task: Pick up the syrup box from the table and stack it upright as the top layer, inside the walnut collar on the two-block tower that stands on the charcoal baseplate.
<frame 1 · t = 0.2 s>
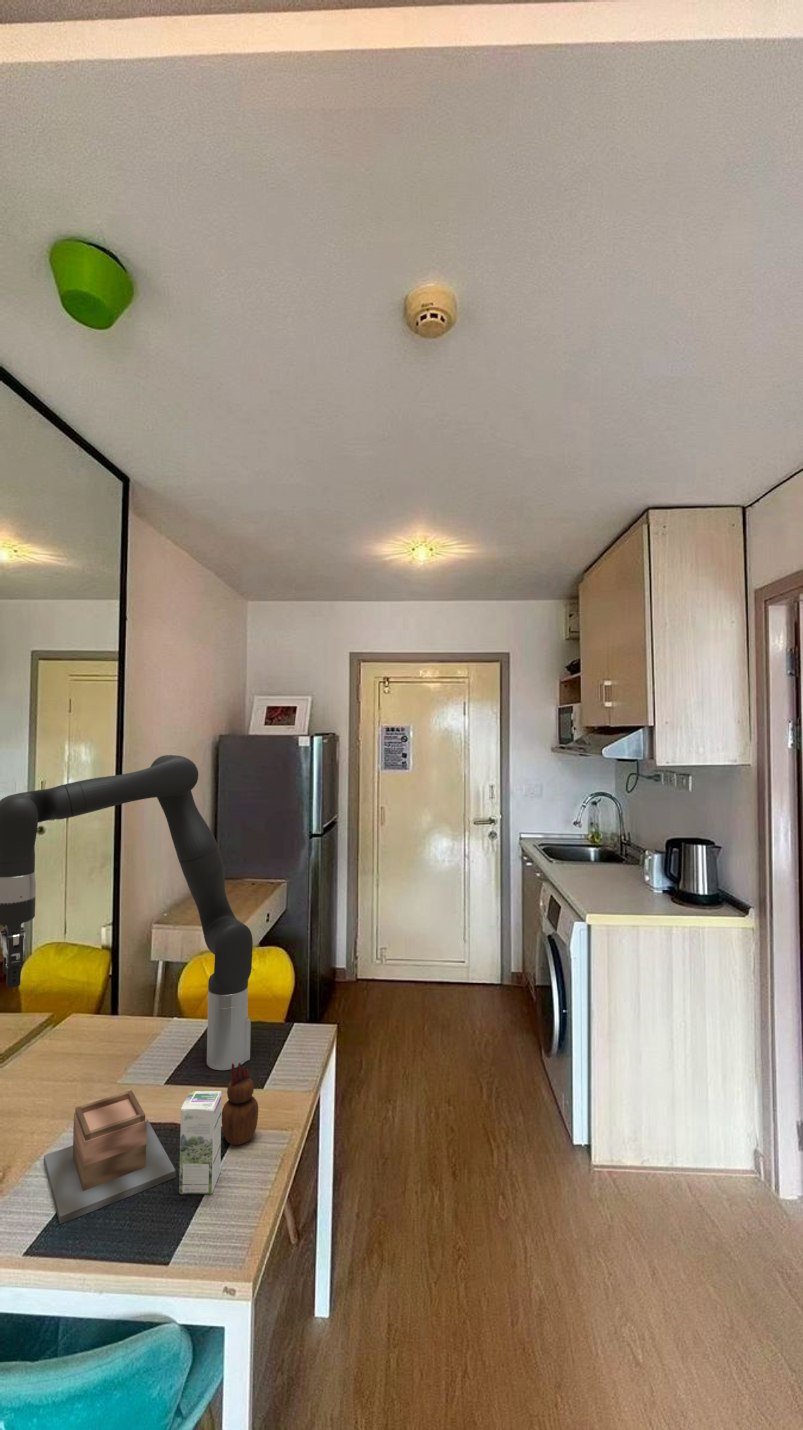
hand: (11, 979, 123), 29 cm above the table, tool pointing down, fingers open, 8 cm apart
tower base: (108, 1169, 111), on the table
wooden figurine: (239, 1140, 120), on the table
syrup box: (200, 1185, 108), on the table
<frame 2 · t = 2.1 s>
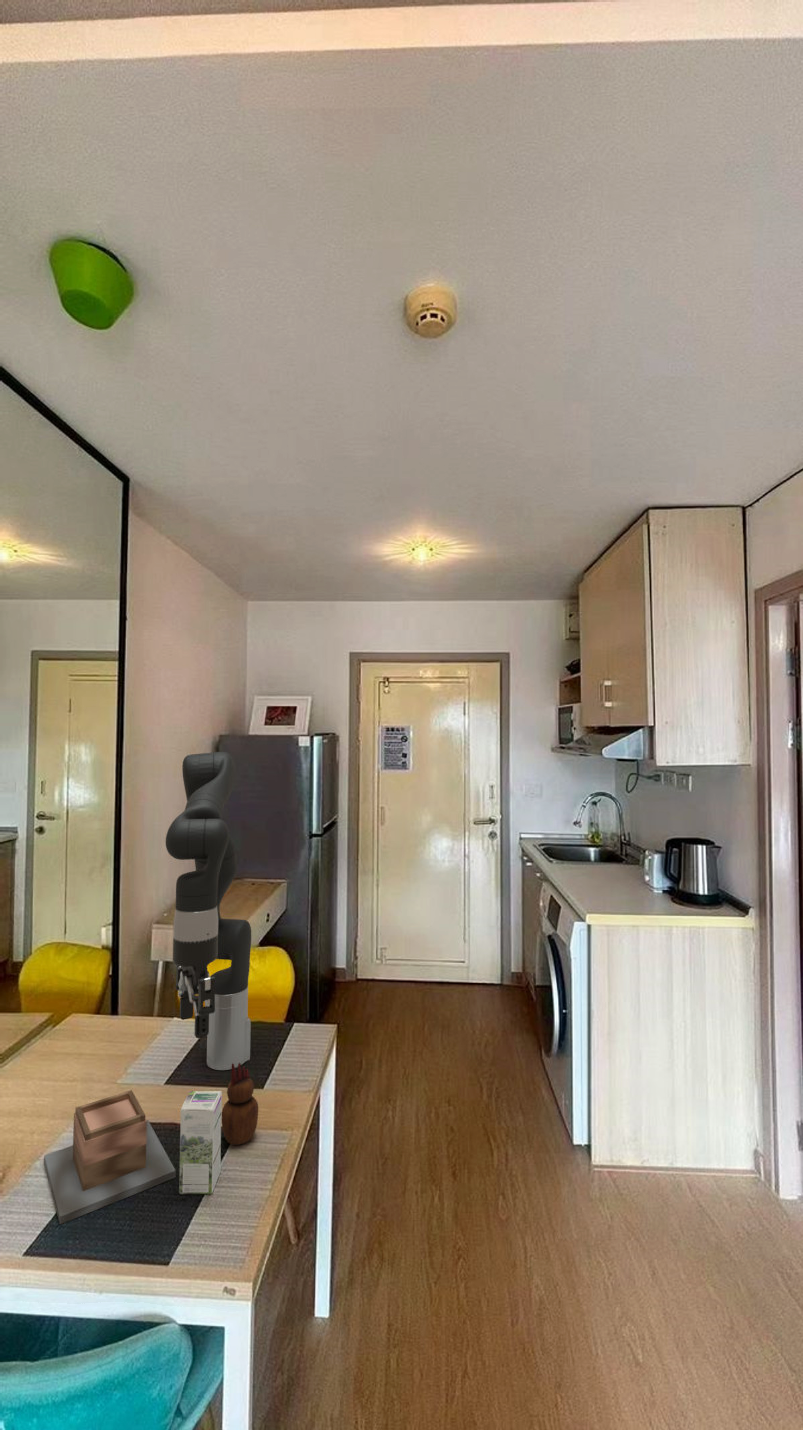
hand: (193, 1027, 109), 27 cm above the table, tool pointing down, fingers open, 8 cm apart
nothing on the table moved.
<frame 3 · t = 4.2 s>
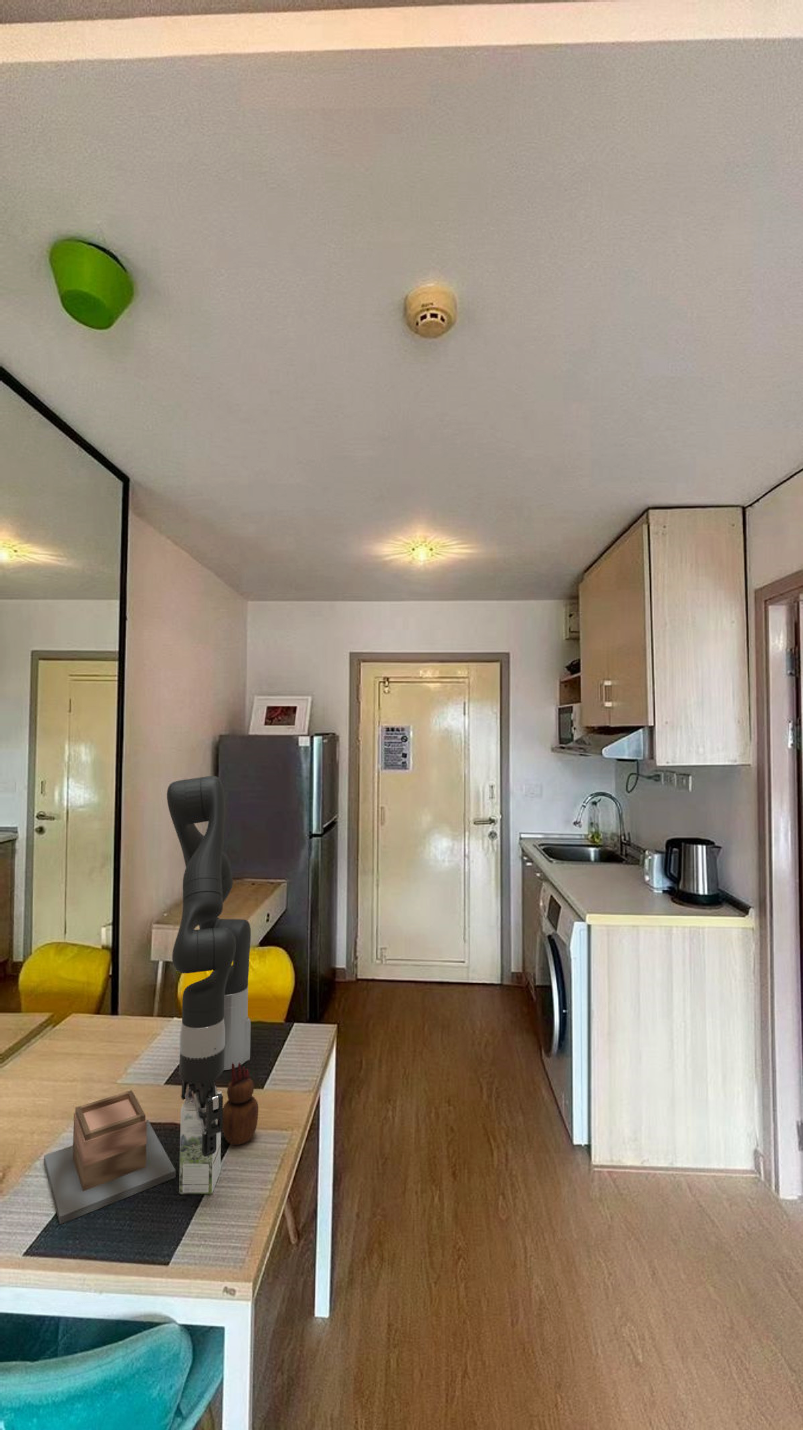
hand: (200, 1141, 108), 7 cm above the table, tool pointing down, fingers closed on syrup box, 8 cm apart
syrup box: (200, 1185, 108), on the table, touching gripper
everything else where it was.
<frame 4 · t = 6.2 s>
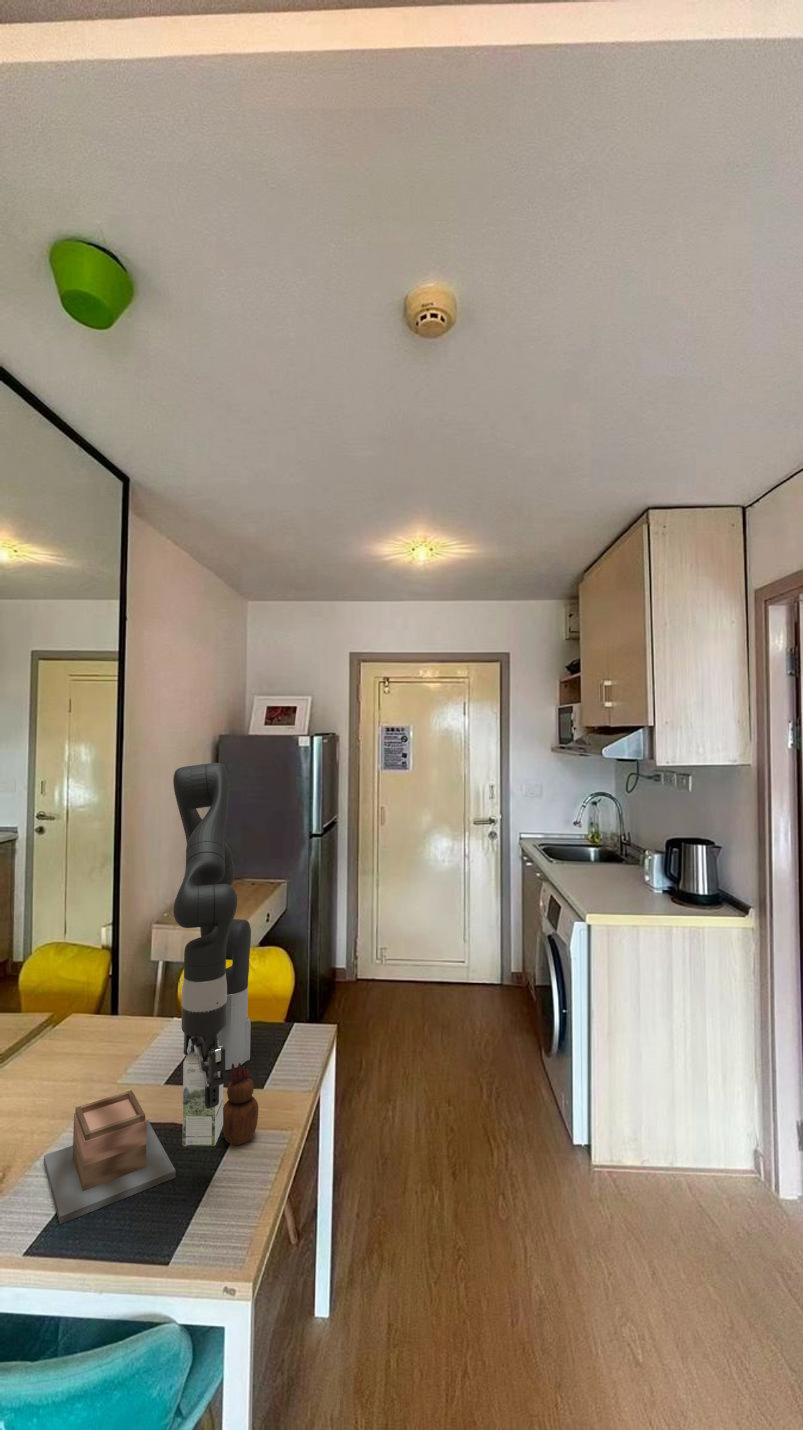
hand: (203, 1094, 109), 15 cm above the table, tool pointing down, fingers closed on syrup box, 8 cm apart
syrup box: (203, 1138, 109), point 7 cm above the table, touching gripper
everything else where it was.
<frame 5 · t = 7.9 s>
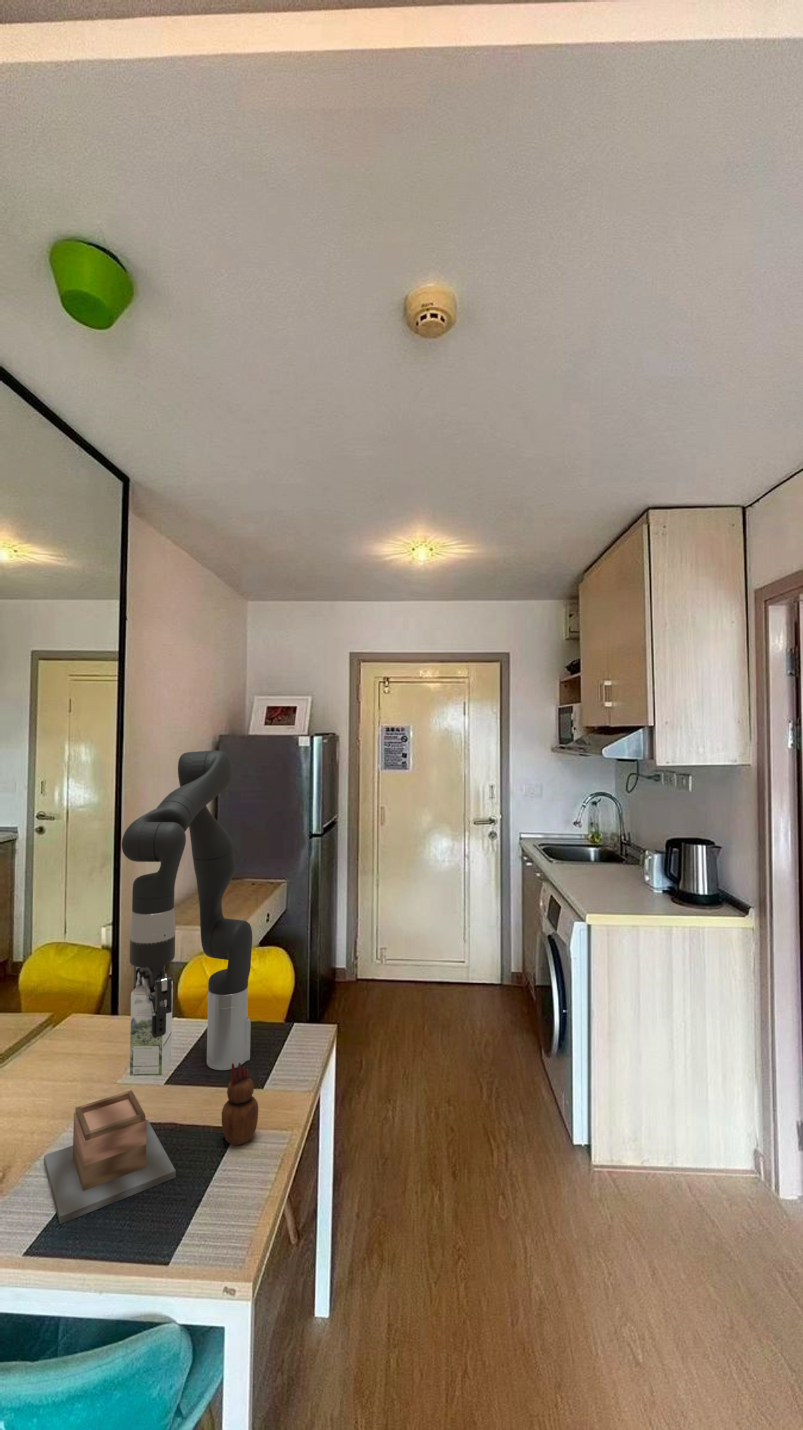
hand: (151, 1026, 111), 26 cm above the table, tool pointing down, fingers closed on syrup box, 8 cm apart
syrup box: (151, 1069, 111), point 18 cm above the table, touching gripper
everything else where it was.
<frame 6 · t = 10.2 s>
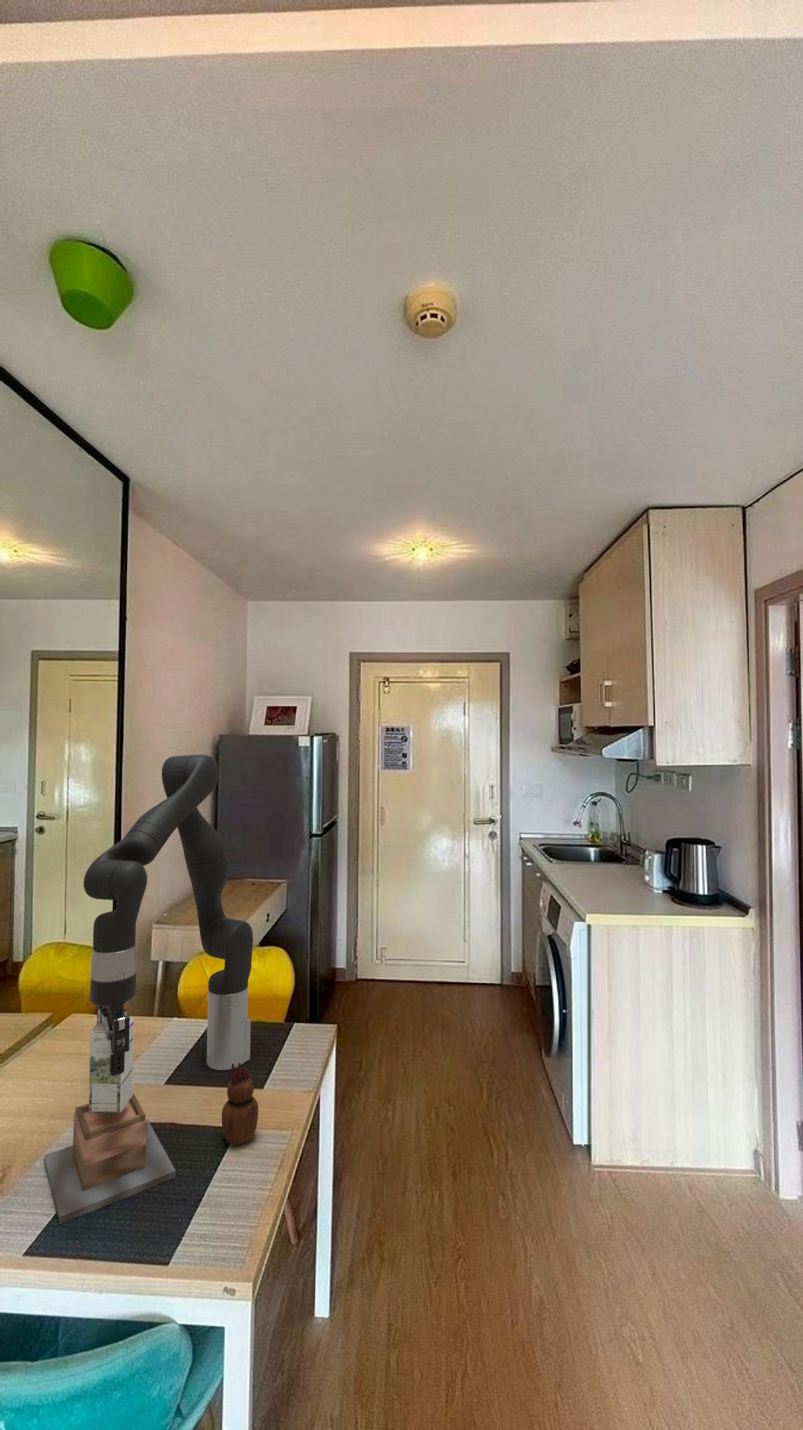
hand: (111, 1063, 112), 19 cm above the table, tool pointing down, fingers closed on syrup box, 8 cm apart
syrup box: (111, 1106, 112), point 11 cm above the table, touching gripper
everything else where it was.
when the fingers open (18 cm above the table, at t = 11.6 s): syrup box drops 2 cm, resting on tower base.
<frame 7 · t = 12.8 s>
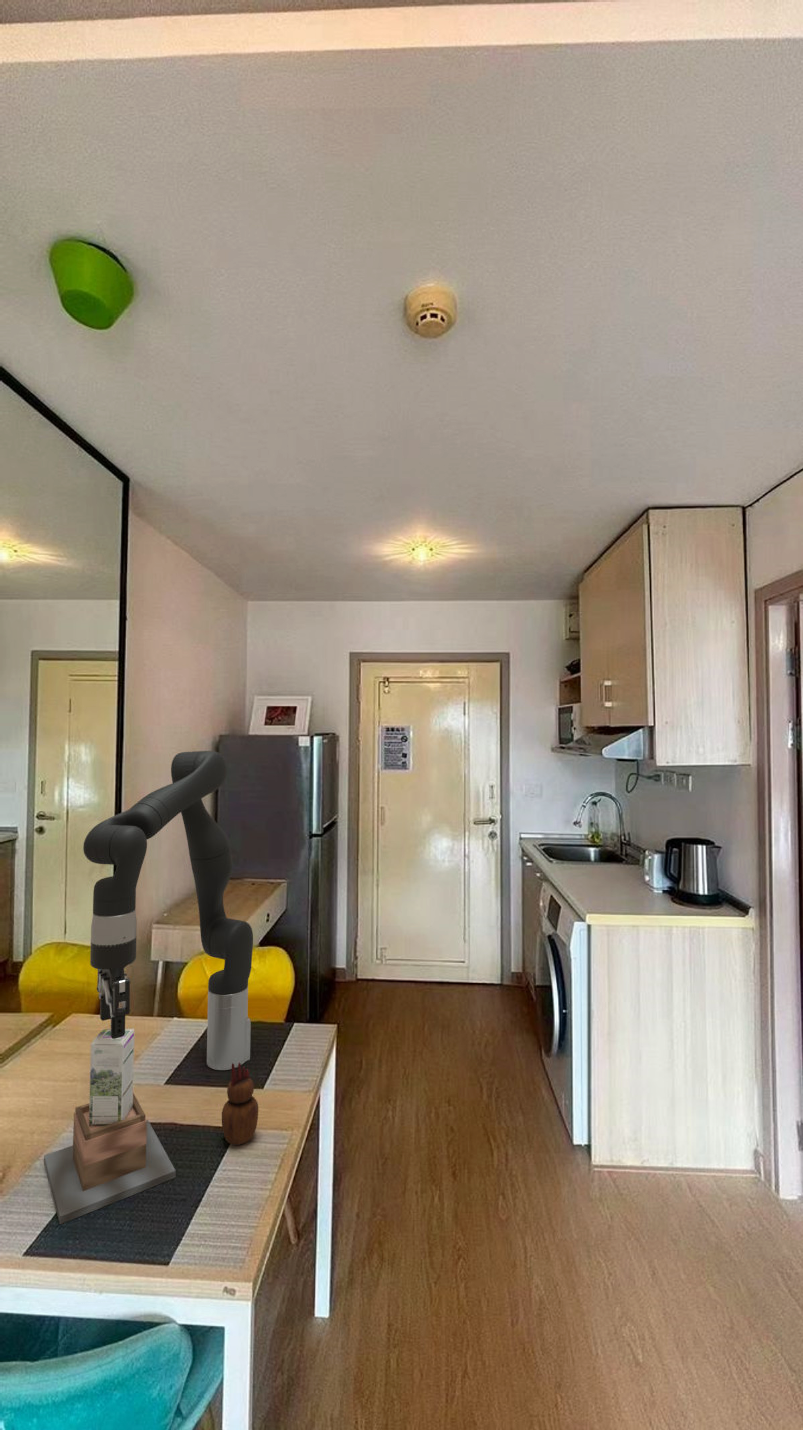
hand: (112, 1027, 112), 25 cm above the table, tool pointing down, fingers open, 8 cm apart
syrup box: (111, 1118, 112), point 9 cm above the table, touching tower base
everything else where it was.
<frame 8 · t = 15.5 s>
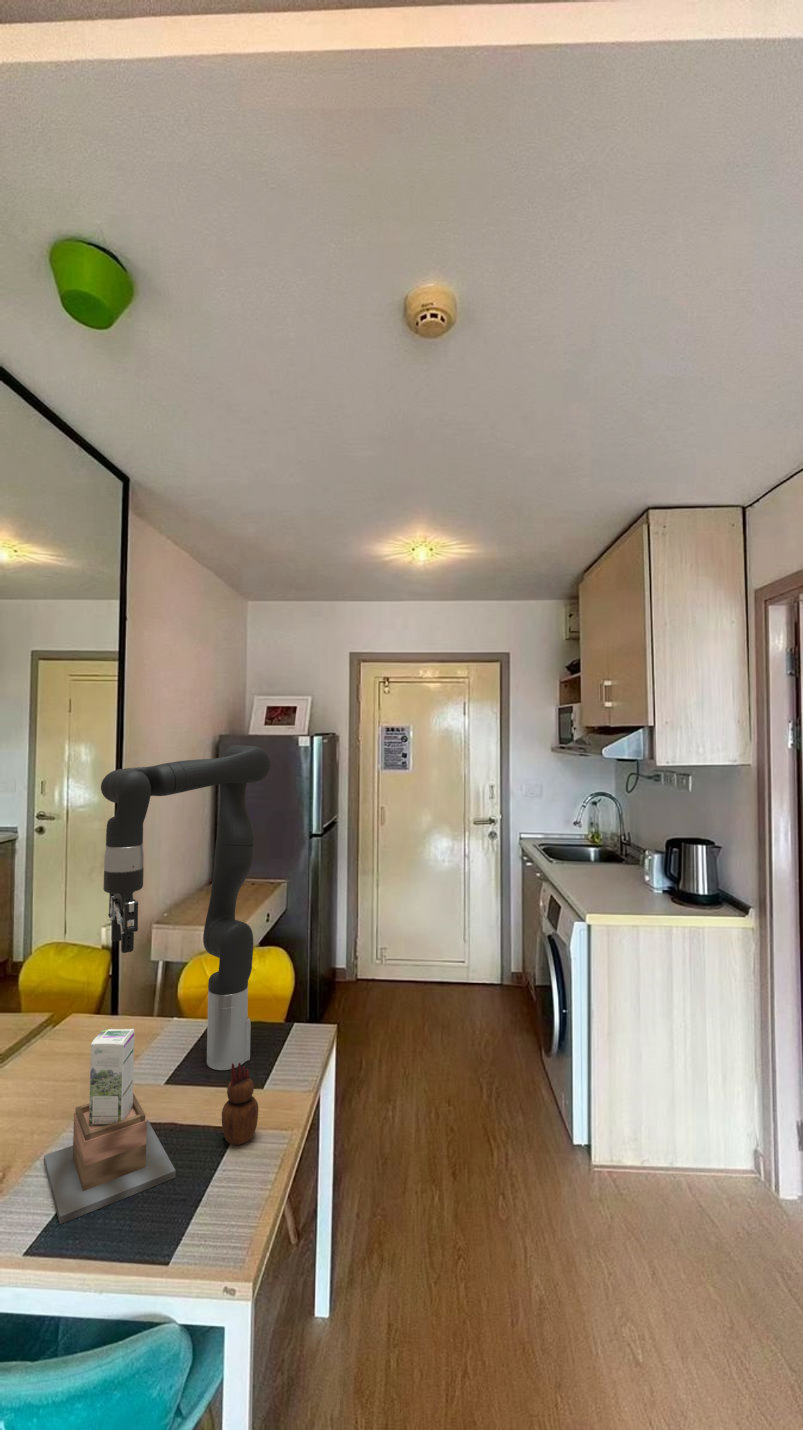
hand: (122, 946, 128), 34 cm above the table, tool pointing down, fingers open, 8 cm apart
nothing on the table moved.
at the end: syrup box 0.3 cm off-centre on the tower base, point 9.0 cm above the tower base's base; syrup box tilted 0°; the gripper is holding nothing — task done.
